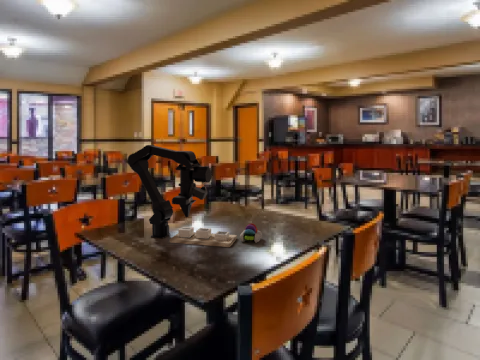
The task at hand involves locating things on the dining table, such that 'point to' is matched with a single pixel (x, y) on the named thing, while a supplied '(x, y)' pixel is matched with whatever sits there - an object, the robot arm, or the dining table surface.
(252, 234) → the rainbow lobed toy
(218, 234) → the tile three
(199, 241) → the tan curved board
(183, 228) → the tile one
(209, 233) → the tile two
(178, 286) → the dining table surface
